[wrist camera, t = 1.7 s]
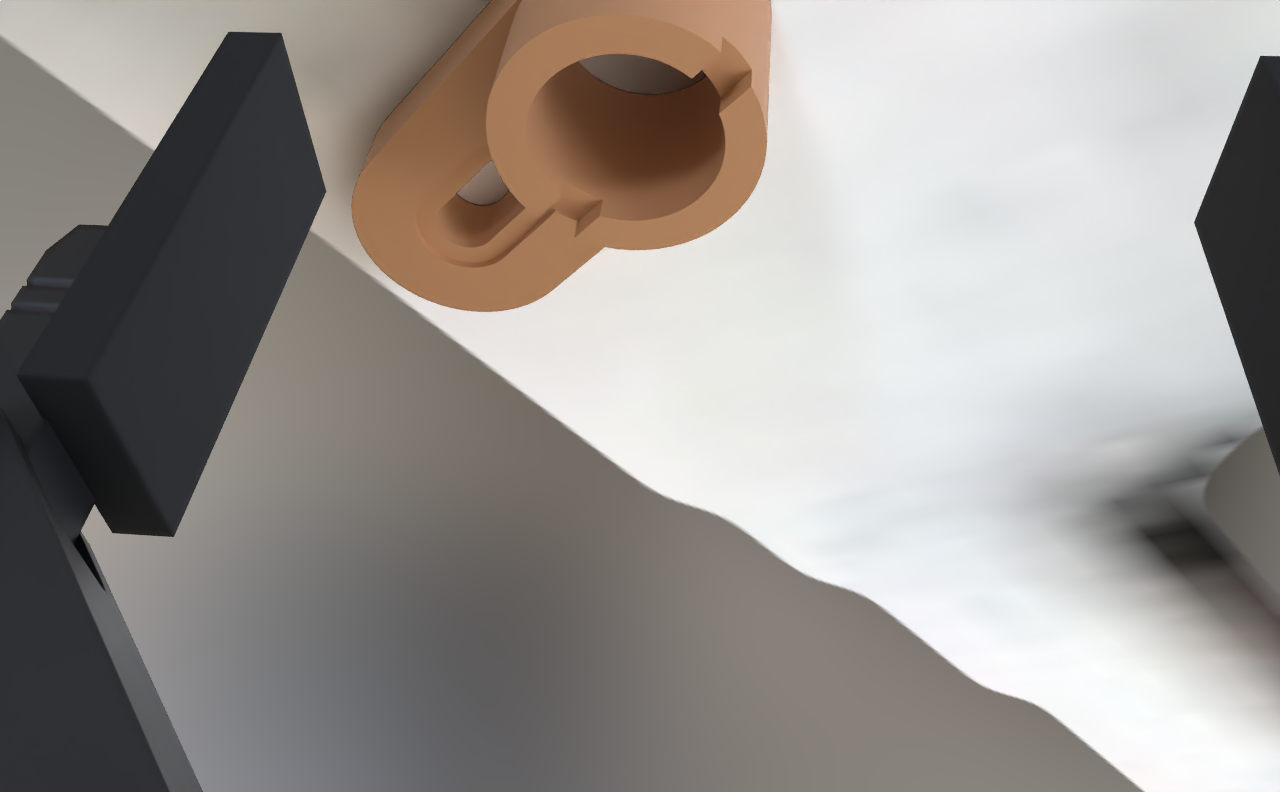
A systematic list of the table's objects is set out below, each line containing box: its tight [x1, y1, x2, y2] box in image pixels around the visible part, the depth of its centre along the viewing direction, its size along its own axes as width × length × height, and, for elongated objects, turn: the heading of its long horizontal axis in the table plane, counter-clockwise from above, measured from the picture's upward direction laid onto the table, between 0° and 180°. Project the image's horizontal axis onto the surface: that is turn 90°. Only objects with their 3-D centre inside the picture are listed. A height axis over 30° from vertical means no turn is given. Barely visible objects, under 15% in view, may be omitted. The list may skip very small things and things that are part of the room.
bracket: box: [352, 0, 771, 312], centre depth 40 cm, size 18×8×7 cm, turn 139°
